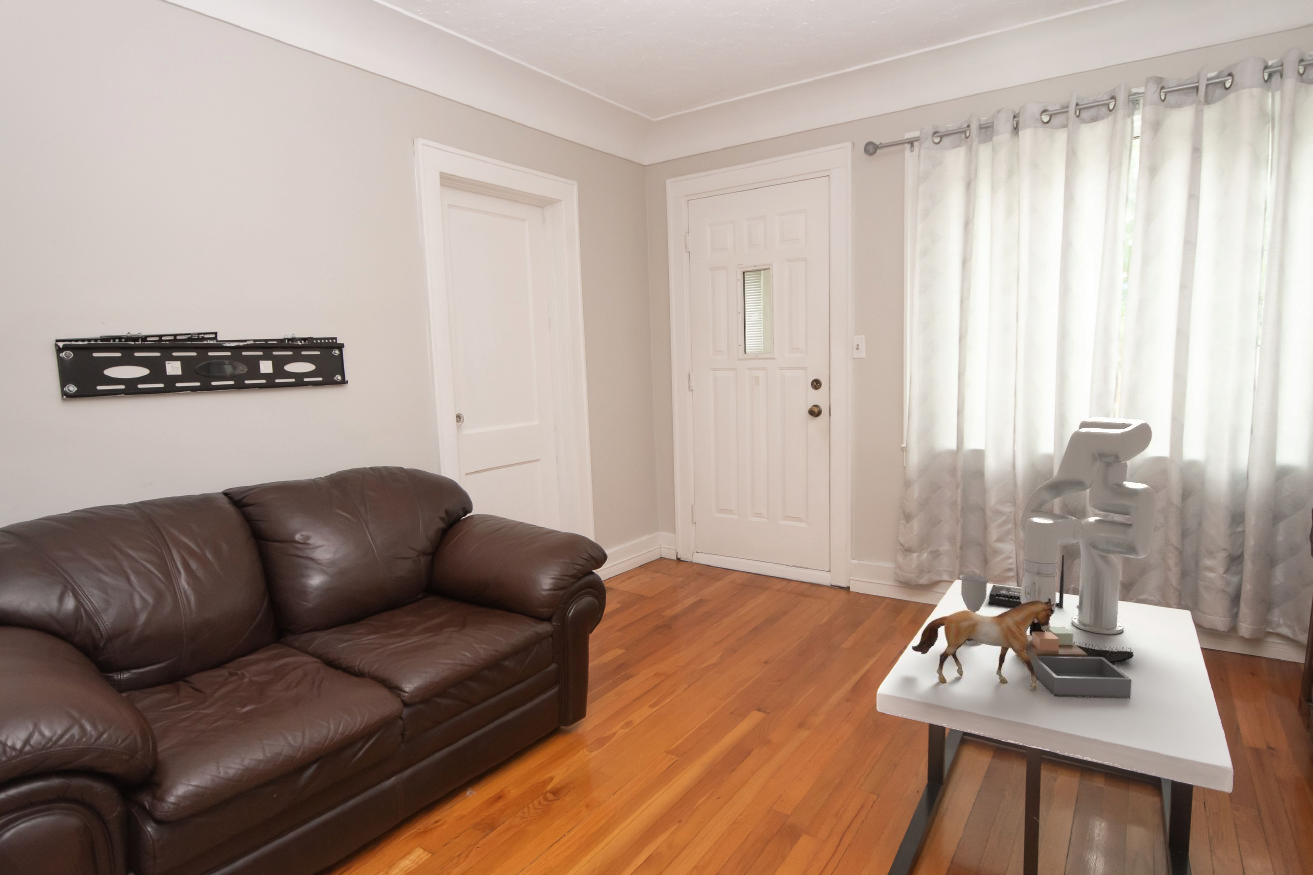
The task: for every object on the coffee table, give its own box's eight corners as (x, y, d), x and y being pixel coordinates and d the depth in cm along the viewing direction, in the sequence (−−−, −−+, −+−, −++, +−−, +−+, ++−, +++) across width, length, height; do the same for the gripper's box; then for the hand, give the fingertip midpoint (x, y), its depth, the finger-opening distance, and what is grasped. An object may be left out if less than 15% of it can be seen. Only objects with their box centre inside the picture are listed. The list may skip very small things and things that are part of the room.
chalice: (957, 644, 191) (959, 580, 189) (957, 635, 197) (959, 573, 195) (987, 648, 188) (989, 582, 186) (986, 638, 195) (988, 575, 193)
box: (1031, 673, 173) (1032, 655, 172) (1102, 674, 171) (1103, 657, 171) (1054, 696, 161) (1055, 677, 161) (1130, 698, 160) (1131, 679, 159)
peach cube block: (1031, 642, 179) (1032, 631, 179) (1050, 643, 179) (1050, 631, 178) (1039, 650, 175) (1039, 638, 174) (1058, 650, 174) (1059, 638, 174)
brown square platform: (1017, 652, 185) (1017, 634, 184) (1062, 653, 184) (1063, 635, 183) (1037, 672, 173) (1038, 653, 173) (1086, 673, 172) (1087, 654, 172)
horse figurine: (1049, 682, 168) (1053, 599, 166) (1057, 697, 161) (1061, 610, 158) (911, 667, 177) (913, 588, 175) (912, 681, 170) (914, 598, 168)
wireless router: (988, 607, 220) (990, 554, 218) (993, 594, 232) (995, 543, 230) (1061, 618, 210) (1064, 562, 208) (1063, 604, 222) (1065, 551, 220)
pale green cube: (1045, 637, 182) (1046, 626, 182) (1063, 637, 182) (1064, 626, 181) (1053, 644, 178) (1054, 633, 177) (1072, 644, 177) (1073, 633, 177)
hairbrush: (1028, 626, 196) (1135, 644, 180) (1028, 639, 197) (1136, 658, 180) (1020, 635, 190) (1130, 655, 174) (1020, 649, 191) (1130, 670, 174)
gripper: (1013, 558, 186) (1010, 625, 188) (1037, 575, 172) (1034, 647, 173) (1042, 558, 186) (1039, 625, 187) (1070, 575, 171) (1066, 648, 173)
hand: (1037, 636), depth 180 cm, fingers closed
